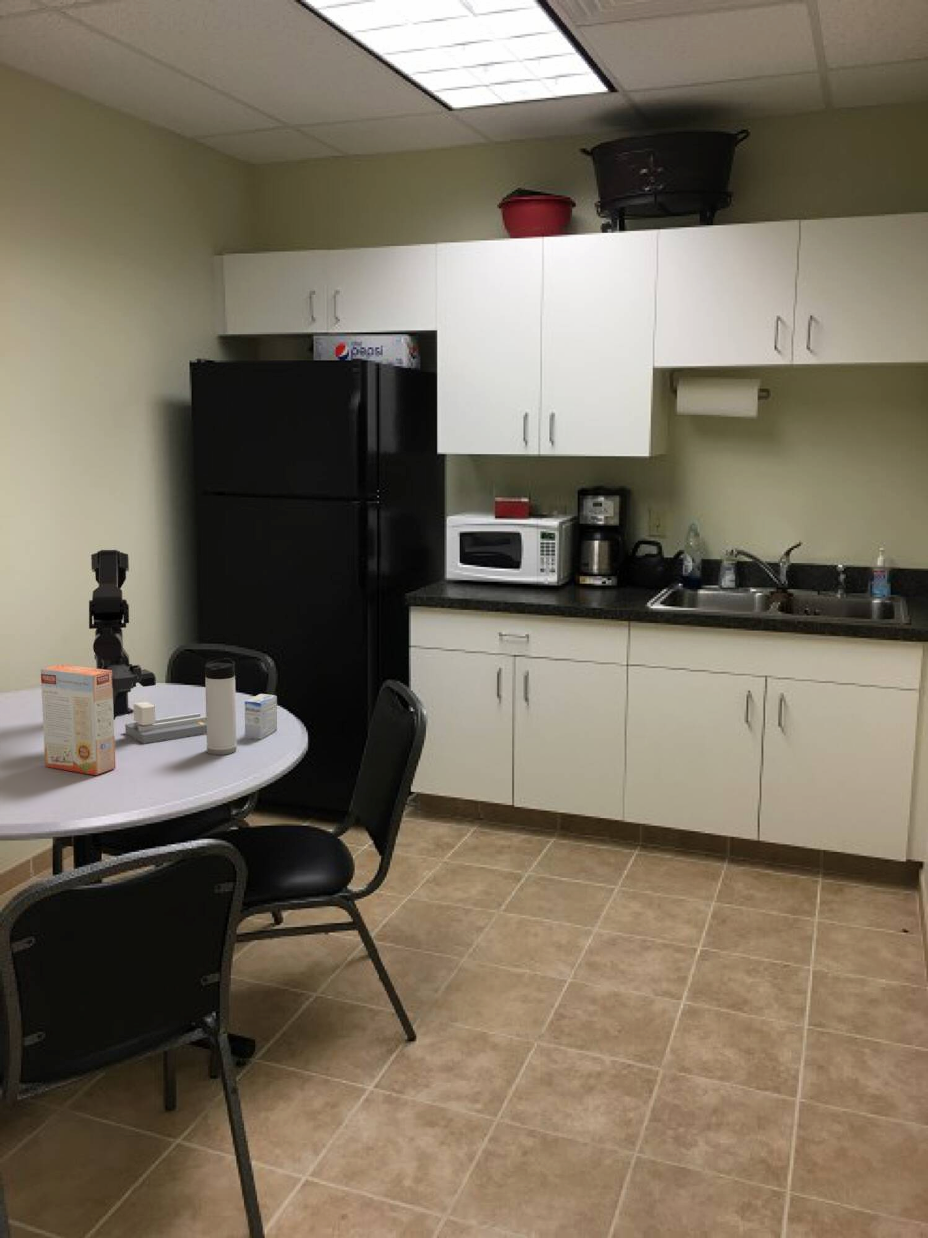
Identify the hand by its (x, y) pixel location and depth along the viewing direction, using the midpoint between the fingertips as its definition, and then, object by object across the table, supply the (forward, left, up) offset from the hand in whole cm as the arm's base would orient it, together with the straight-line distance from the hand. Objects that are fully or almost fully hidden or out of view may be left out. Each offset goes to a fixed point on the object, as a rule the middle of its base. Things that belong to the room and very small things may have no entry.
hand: (112, 719), depth 238 cm
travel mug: (+20, +17, -5) cm, 27 cm away
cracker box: (+15, -12, -5) cm, 20 cm away
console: (0, +13, -5) cm, 14 cm away
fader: (0, +7, -3) cm, 8 cm away
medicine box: (+13, +30, -5) cm, 33 cm away
